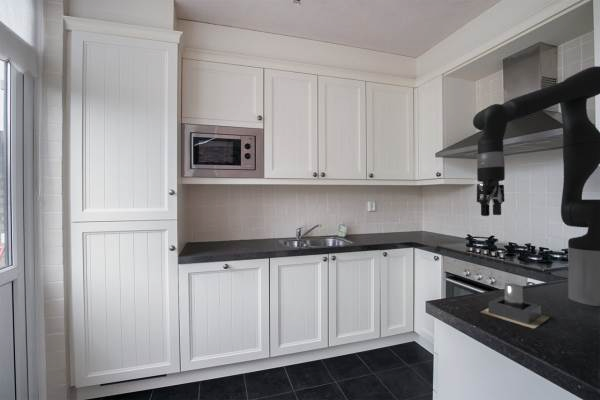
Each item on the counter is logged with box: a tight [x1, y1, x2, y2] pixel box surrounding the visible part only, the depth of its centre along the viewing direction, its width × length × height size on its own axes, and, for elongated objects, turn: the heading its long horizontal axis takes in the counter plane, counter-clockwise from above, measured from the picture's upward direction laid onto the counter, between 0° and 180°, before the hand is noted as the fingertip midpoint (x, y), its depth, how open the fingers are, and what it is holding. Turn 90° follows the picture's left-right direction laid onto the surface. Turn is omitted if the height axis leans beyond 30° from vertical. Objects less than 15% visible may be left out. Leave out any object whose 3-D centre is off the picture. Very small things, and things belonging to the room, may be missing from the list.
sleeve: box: [487, 295, 542, 325], centre depth 75 cm, size 9×9×3 cm
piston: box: [504, 282, 524, 309], centre depth 75 cm, size 4×4×8 cm
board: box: [480, 307, 550, 329], centre depth 75 cm, size 12×12×1 cm
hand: (491, 215), depth 90 cm, fingers open, 8 cm apart
